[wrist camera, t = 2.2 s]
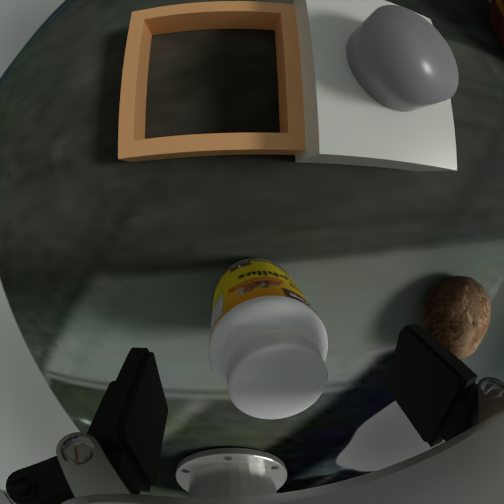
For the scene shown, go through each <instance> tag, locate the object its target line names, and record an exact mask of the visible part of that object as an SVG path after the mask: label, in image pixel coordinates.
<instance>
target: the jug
mask: <svg viewBox="0 0 504 504" xmlns="http://www.w3.org/2000/svg"><path fill="white" fill-rule="evenodd" d="M490 22H491V25H492V28H493V30H494V32H495V34H496V36H497V38H498V39H499V41H500V43H501V44H502V46H503V47H504V0H491V7H490Z"/></svg>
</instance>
